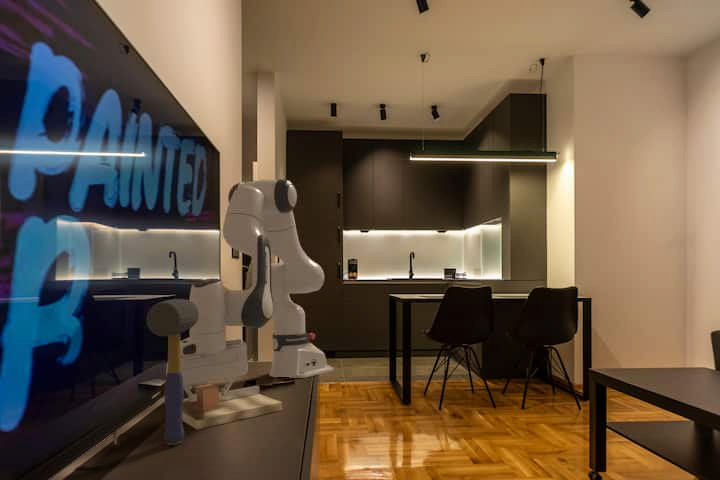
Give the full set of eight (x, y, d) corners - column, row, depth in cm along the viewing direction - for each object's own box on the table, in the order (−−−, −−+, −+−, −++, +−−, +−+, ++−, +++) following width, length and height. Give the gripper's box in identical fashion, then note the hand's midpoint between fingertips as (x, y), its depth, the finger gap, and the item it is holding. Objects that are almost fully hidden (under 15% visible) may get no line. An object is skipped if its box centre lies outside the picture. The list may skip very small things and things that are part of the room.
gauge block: (211, 403, 124) (211, 384, 124) (218, 407, 120) (218, 387, 121) (195, 406, 122) (195, 386, 122) (203, 410, 118) (203, 390, 118)
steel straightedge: (256, 392, 134) (256, 385, 135) (259, 393, 133) (259, 386, 133) (176, 408, 121) (176, 400, 121) (178, 409, 119) (178, 401, 120)
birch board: (256, 400, 134) (256, 385, 135) (282, 410, 123) (281, 394, 124) (176, 416, 120) (176, 400, 121) (197, 429, 110) (196, 411, 110)
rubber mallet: (180, 454, 94) (180, 300, 97) (142, 455, 94) (143, 301, 97) (202, 433, 107) (201, 297, 109) (168, 434, 107) (168, 298, 109)
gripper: (240, 337, 131) (242, 388, 130) (163, 347, 118) (164, 404, 117) (251, 339, 126) (252, 393, 126) (171, 350, 113) (172, 410, 113)
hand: (209, 398), depth 121 cm, fingers open, 7 cm apart
